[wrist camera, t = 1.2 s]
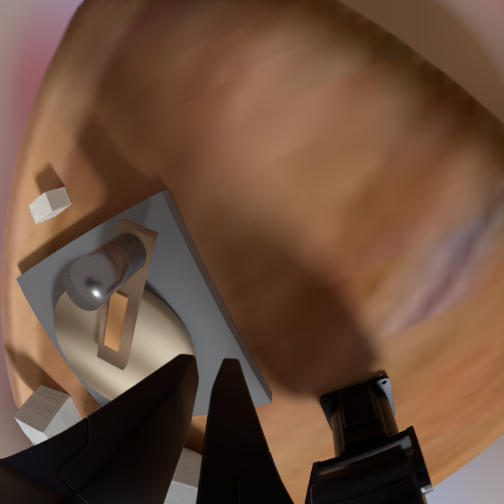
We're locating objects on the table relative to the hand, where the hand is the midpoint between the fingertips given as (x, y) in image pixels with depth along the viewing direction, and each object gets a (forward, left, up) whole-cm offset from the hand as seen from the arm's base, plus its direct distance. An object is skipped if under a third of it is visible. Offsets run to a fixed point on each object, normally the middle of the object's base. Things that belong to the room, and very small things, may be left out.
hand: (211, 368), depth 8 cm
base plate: (-2, +14, -13) cm, 19 cm away
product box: (-12, +33, -13) cm, 38 cm away
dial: (-3, +12, -11) cm, 17 cm away
